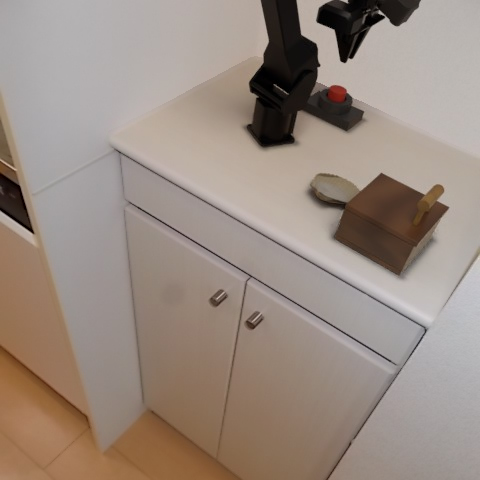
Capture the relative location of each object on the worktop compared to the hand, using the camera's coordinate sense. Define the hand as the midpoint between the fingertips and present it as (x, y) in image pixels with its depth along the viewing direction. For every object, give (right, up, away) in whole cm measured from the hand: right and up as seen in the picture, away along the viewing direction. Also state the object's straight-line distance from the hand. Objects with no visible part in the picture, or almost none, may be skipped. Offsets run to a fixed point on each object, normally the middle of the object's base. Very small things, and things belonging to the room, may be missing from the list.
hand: (346, 60), depth 91 cm
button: (-1, -4, +5) cm, 7 cm away
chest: (+2, -33, -14) cm, 36 cm away
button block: (-1, -6, +8) cm, 10 cm away
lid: (+3, -30, -18) cm, 35 cm away
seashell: (-4, -26, -9) cm, 28 cm away
